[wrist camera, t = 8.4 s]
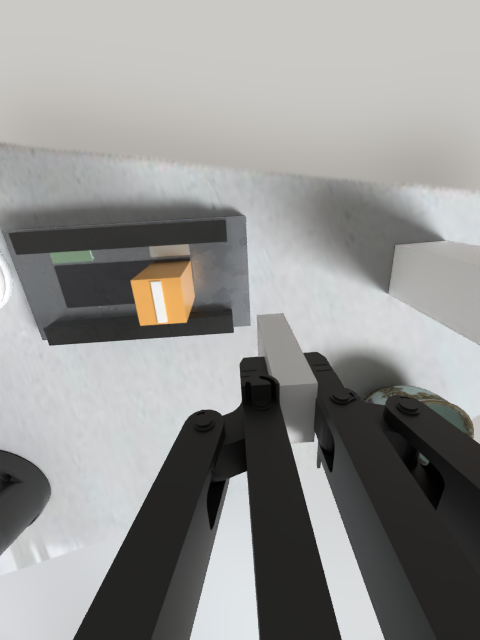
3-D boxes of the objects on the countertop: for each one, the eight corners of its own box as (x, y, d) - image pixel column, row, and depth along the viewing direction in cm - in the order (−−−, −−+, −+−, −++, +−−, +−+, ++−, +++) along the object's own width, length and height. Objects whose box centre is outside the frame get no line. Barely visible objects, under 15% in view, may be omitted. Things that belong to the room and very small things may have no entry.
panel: (52, 332, 34) (31, 348, 30) (16, 229, 29) (-15, 233, 25) (249, 319, 34) (252, 332, 30) (244, 215, 29) (247, 217, 26)
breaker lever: (158, 299, 30) (139, 326, 24) (151, 263, 29) (129, 281, 22) (195, 297, 30) (186, 323, 24) (190, 260, 29) (179, 277, 22)
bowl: (391, 449, 44) (424, 498, 37) (319, 424, 41) (340, 471, 34) (448, 383, 40) (499, 424, 32) (372, 350, 37) (409, 387, 29)
